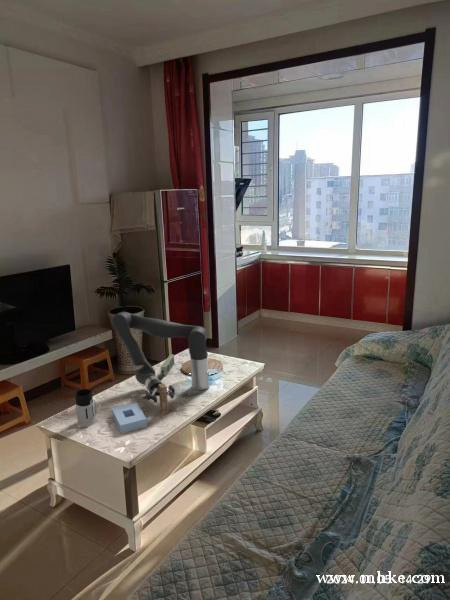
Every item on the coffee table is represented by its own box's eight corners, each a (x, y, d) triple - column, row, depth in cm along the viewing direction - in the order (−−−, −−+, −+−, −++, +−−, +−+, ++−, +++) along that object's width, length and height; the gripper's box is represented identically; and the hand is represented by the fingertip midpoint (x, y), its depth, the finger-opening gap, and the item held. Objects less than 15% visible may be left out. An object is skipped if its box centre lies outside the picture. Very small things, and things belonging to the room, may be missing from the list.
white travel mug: (89, 415, 209) (86, 386, 205) (107, 424, 200) (104, 394, 196) (73, 422, 202) (69, 393, 198) (90, 432, 193) (87, 402, 190)
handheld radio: (175, 364, 268) (163, 381, 244) (170, 364, 269) (157, 381, 245) (174, 354, 267) (161, 370, 243) (169, 354, 267) (156, 370, 243)
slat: (165, 409, 212) (163, 383, 208) (168, 413, 208) (166, 386, 204) (160, 410, 211) (158, 384, 207) (163, 414, 207) (161, 387, 203)
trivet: (176, 376, 251) (176, 373, 250) (186, 360, 275) (186, 357, 274) (219, 377, 247) (219, 374, 246) (225, 361, 271) (225, 358, 270)
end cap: (137, 409, 212) (136, 402, 211) (147, 426, 197) (146, 418, 196) (112, 415, 207) (111, 408, 206) (121, 433, 192) (120, 425, 191)
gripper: (140, 381, 216) (149, 394, 202) (167, 376, 222) (178, 388, 208) (141, 395, 218) (150, 409, 203) (168, 389, 224) (179, 402, 209)
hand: (164, 398), depth 205 cm, fingers open, 7 cm apart
